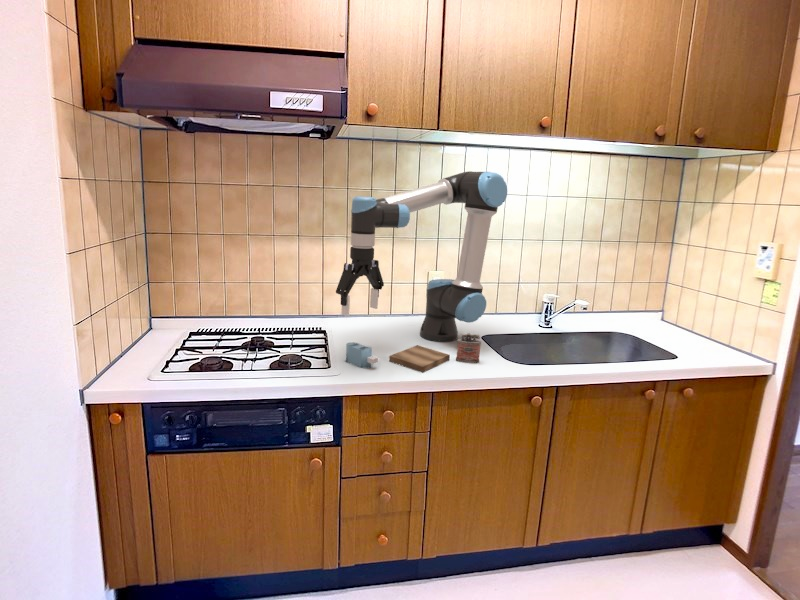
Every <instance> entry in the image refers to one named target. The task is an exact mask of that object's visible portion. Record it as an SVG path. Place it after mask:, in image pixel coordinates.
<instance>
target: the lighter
mask: <svg viewBox="0 0 800 600" xmlns="http://www.w3.org/2000/svg"><path fill="white" fill-rule="evenodd" d="M480 337H481V336H480V335H479V334H471V333H470V332H469V333H461V338H457V352H456V357H455V360H456V362H460V363H466V364H468V363H469V364H479V363H480V351H481V345H482V341H481V340H480Z"/></svg>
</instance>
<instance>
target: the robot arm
mask: <svg viewBox="0 0 800 600" xmlns="http://www.w3.org/2000/svg"><path fill="white" fill-rule="evenodd" d="M507 196H508V186H507V182H506V181H505V179H504V177H503V176H502V175H501V174H499V173H497V172H491V171H464V172H460V173H457V174H453V175H450V176H447V177H443V178H440V179H439V180H438V181H437V182H436V183H432V184H430V185H429V184H428V185H425V186H422V187H418V188H415V189H414V188H413V189H410V190H407V191H403V192H400V193H396V194H392V195H388V196H384V197H381V198H378V199H376V198H375V197H372V196H355V197H353V198H352V201H351V210H350V212H351V217H350V218H351V224H350V228H351V229H350V245H351V247H350V249H349V250H350V253H349V254H350V255H349V257H350V260H351V263H347V262H344V264H343V271H342V273H341V276H340V278H339V282H338V283H337V287H336V289H335V293H336V294H338V295H340V305H341V315H342V316H345V317H350V309H351V308H350V307H351V306H350V305H351V304H350V301H351V295H349V294H350V293H351V292H350V291H351V290H352V289H353V287H354V284H355V283H356V282H357V280H358V279H359V278H360V277H364V276H365V277H366V279H367V280H368V282H369V283H370V285H371V287H372V288H370V297H369V298H370V301H369V308H371V309H373V310H374V309H375V310H377V309H378V304H379V303H378V302H379V297H380V290H382V289H383V287H384V286H385V284H384V283H385V282H384V280H383V277H382V273H381V270H380V267H379V266H380V265H379V264H380V263H379V262H380V261H379V260H377V259H375V248H374V247H375V241H376V240H375V239H376V235H375V234H376V229H377V228H379V229H380V228H383V229H384V228H391V229H392V228H393V229H394V228H395V229H399V228H405V227H407V226H408V224H409V223H410V220H411V213H413V212H418V211H421V210H424V209H427V208H431V207H434V206H438V205H441V204H443V205H450V204H457V203H458V204H459V203H460V204H464V210H465V211H466V213H467V217H466V223H465V226H464V227H465V229H464V234H463V240H462V246H461V251H460V256H459V257H460V258H459V262H458V269H457V274H456V277H455V279H452V278H451V279H450V278H449V279H448V278H441V279H439V278H438V279H431V280H429V281H428V283H427V288H426V303H425V306H426V307H425V317H424V320H423V321H422V325H421V327H420V331H419V336H420V337H421V338H423V339H425V340H428V341H433V342H441V343H442V342H444V343H445V342H453V341H456V340H458V339H459V338H458V336H459V331H458V326H457V323H456V320H458V321H460V322H464V323H469V324H470V323H474V322H476V321H478V320H479V318H481V317H483V315H484V314H485V311H486V308H487V299H486V297H485V295H483V290H484V288H483V285H482V283H481V278H482V273H483V267H484V262H485V261H484V259H485V255H486V250H487V244H488V238H489V235H490V234H489V232H490V228H491V222H492V218H493V216H494V215H496V214H497V212H498V208H499V207H501V206H502V205H503V203H505V201H507V200H506V199H507Z"/></svg>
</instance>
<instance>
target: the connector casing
mask: <svg viewBox="0 0 800 600" xmlns="http://www.w3.org/2000/svg"><path fill="white" fill-rule="evenodd" d="M345 345H346V346H345V347H346V349H345V352H346V353H345V362H346V363H348V364H350V363H351V365H352V366H353V365H354V366H357V367H359V368H362V369H370V368H371V367H372V365H374V364H377V363H378V362H379V357H377V356H375V355H372V354H373V352H372V351H373V349H372V347H370V346H367V345H365V344H362V343H361V344H360V343H358V342H347V343H346V344H345Z"/></svg>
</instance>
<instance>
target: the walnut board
mask: <svg viewBox="0 0 800 600" xmlns="http://www.w3.org/2000/svg"><path fill="white" fill-rule="evenodd" d="M450 357H451V356H450V354H448V353H445V352H442V351H438V350H435V349H432V348H429V347H425V346H422V345H418V344H417V345H413V346H412V347H409V348H406V349H403V350H401V351H399V352H396V353H393V354H390V355H389V362H390V361H391V362H390V363H393V362H394V363H393V364H396V363H397V365H399V364H400V365H399V366H402V365H403V366H402V367H405V366H406V367H405V368H408V369H411V370H413V371H417V372H420V373H425V372H427V371H429V370H432V369H433V368H435V367H437V366H440V365H442V364H444V363H446V362H449V361H450Z"/></svg>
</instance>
